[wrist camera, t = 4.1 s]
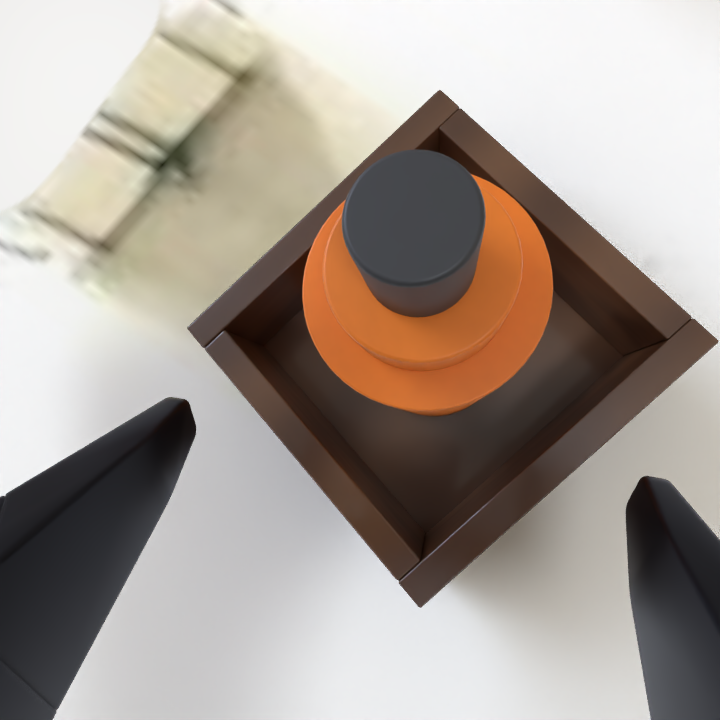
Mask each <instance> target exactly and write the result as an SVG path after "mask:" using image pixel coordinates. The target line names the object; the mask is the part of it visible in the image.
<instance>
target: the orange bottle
mask: <svg viewBox="0 0 720 720" xmlns="http://www.w3.org/2000/svg"><path fill="white" fill-rule="evenodd" d="M552 296H553V276H552V267H551V262H550V258H549V254H548V251H547V248H546V245H545V242H544V239H543V238H542V236H541V234H540V232H539V230H538V228H537V226H536V224H535V223H534V222H533V220H532V219H531V217H530V216H529V215H528V213H527V212H526V211H525V210H524V209H523V208H522V206H521V205H520V204H519V203H518V202H517V201H516V200H515V199H513V198H512V197H511V196H510V195H508V194H507V193H506V192H505V191H504V190H502V189H500V188H499V187H497V186H496V185H494V184H492V183H491V182H489V181H487V180H484V179H482V178H480V177H477V176H475V175H472V174H470V173H469V172H468V171H467V170H466V168H464V167H463V166H462V165H461V164H459V163H458V162H457V161H455V160H453V159H452V158H450V157H448V156H446V155H444V154H441V153H438V152H434V151H429V150H418V149H414V150H405V151H400V152H396V153H393V154H390V155H388V156H386V157H383V158H381V159H380V160H378V161H376V162H375V163H373V164H372V165H371V166H369V167H368V168H367V169H366V170H365V171H364V172H363V173H362V174H361V175H360V176H359V177H358V179H357V180H356V181H355V183H354V184H353V186H352V188H351V189H350V191H349V193H348V195H347V198H346V200H345V201H344V202H342V203H341V204H340V205H339V206H338V207H337V209H336V210H335V211H334V212H333V213H332V214H331V215H330V216H329V218H328V219H327V221H326V222H325V223H324V225H323V226H322V228H321V229H320V231H319V233H318V235H317V236H316V238H315V240H314V242H313V245H312V247H311V250H310V252H309V255H308V258H307V262H306V266H305V270H304V277H303V289H302V300H303V308H304V316H305V319H306V323H307V327H308V330H309V333H310V335H311V338H312V340H313V342H314V345H315V346H316V348H317V350H318V352H319V353H320V355H321V357H322V358H323V360H324V361H325V362H326V364H327V365H328V366H329V367H330V369H331V370H332V371H333V372H334V373H335V374H336V375H337V376H338V377H339V378H340V379H341V380H342V381H343V382H345V383H346V384H347V385H349V386H350V387H351V388H353V389H354V390H355V391H357V392H359V393H360V394H362V395H364V396H366V397H367V398H369V399H372V400H374V401H377V402H379V403H382V404H384V405H387V406H391V407H394V408H398V409H401V410H404V411H408V412H411V413H415V414H419V415H424V416H444V415H449V414H453V413H456V412H459V411H461V410H463V409H465V408H467V407H469V406H470V405H472V404H474V403H475V402H477V401H478V400H480V399H482V398H483V397H485V396H486V395H488V394H490V393H491V392H493V391H494V390H496V389H498V388H499V387H500V386H502V385H503V384H504V383H505V382H507V381H508V380H509V379H510V378H512V377H513V376H514V375H515V374H516V373H517V372H518V370H519V369H520V368H521V367H522V366H523V365H524V364H525V363H526V361H527V360H528V359H529V357H530V356H531V355H532V353H533V352H534V350H535V348H536V347H537V345H538V343H539V341H540V339H541V337H542V335H543V333H544V330H545V327H546V325H547V322H548V319H549V314H550V310H551V305H552Z"/></svg>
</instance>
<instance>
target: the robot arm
mask: <svg viewBox="0 0 720 720" xmlns="http://www.w3.org/2000/svg"><path fill="white" fill-rule="evenodd" d="M195 435H196V424H195V421H194V417H193V414H192V411H191V407H190V404H189V402H188V401H187V400H185V399H179V398H173V397H169V398H166V399H164V400H162V401H160V402H159V403H157V404H155V405H154V406H152V407H150V408H149V409H147V410H145V411H144V412H142V413H140V414H139V415H137V416H135V417H134V418H132V419H130V420H129V421H127V422H125V423H124V424H122V425H120V426H119V427H117V428H115V429H114V430H112V431H110V432H109V433H107V434H105V435H104V436H102V437H100V438H99V439H97V440H95V441H94V442H92V443H90V444H89V445H87V446H85V447H84V448H82V449H80V450H78V451H77V452H75V453H73V454H72V455H70V456H68V457H67V458H65V459H63V460H62V461H60V462H58V463H57V464H55V465H53V466H52V467H50V468H48V469H47V470H45V471H43V472H42V473H40V474H38V475H37V476H35V477H33V478H32V479H30V480H28V481H27V482H25V483H23V484H22V485H20V486H18V487H17V488H15V489H13V490H12V491H10V492H8V493H7V494H6V496H1V497H0V720H53V718H54V716H55V714H56V710H57V709H58V708H59V706H60V704H61V702H62V700H63V698H64V697H65V695H66V693H67V691H68V689H69V687H70V685H71V683H72V682H73V680H74V678H75V676H76V674H77V672H78V670H79V668H80V667H81V665H82V663H83V661H84V659H85V657H86V655H87V653H88V652H89V650H90V648H91V646H92V644H93V642H94V640H95V638H96V637H97V635H98V633H99V631H100V629H101V627H102V625H103V623H104V622H105V620H106V618H107V616H108V614H109V612H110V610H111V609H112V607H113V605H114V603H115V601H116V599H117V597H118V595H119V594H120V592H121V590H122V588H123V586H124V584H125V582H126V580H127V579H128V577H129V575H130V573H131V571H132V569H133V567H134V565H135V564H136V562H137V560H138V558H139V556H140V554H141V552H142V550H143V549H144V547H145V545H146V543H147V541H148V539H149V537H150V536H151V534H152V532H153V530H154V528H155V526H156V524H157V522H158V521H159V519H160V517H161V515H162V513H163V511H164V509H165V507H166V505H167V503H168V501H169V499H170V497H171V495H172V493H173V490H174V488H175V485H176V483H177V480H178V478H179V475H180V473H181V470H182V468H183V465H184V463H185V460H186V458H187V455H188V453H189V451H190V448H191V446H192V443H193V441H194V438H195ZM626 532H627V552H628V573H629V589H630V598H631V605H632V611H633V617H634V623H635V629H636V635H637V641H638V646H639V652H640V658H641V664H642V670H643V676H644V682H645V687H646V693H647V699H648V705H649V711H650V717H651V720H720V540H719V539H718V537H717V536H716V535H715V534H714V533H713V532H712V530H711V529H710V528H709V527H708V526H707V525H706V523H705V522H704V521H703V520H702V519H701V517H700V516H699V515H698V514H697V513H696V512H695V510H694V509H693V508H692V507H691V506H690V505H689V503H688V502H687V501H686V500H685V499H684V497H683V496H682V495H681V494H680V493H679V492H678V490H677V489H676V488H675V487H674V486H673V484H672V483H671V482H669V481H668V480H666V479H662V478H655V477H649V476H644V477H642V478H641V479H640V480H639V482H638V484H637V486H636V488H635V490H634V491H633V493H632V495H631V497H630V499H629V501H628V503H627V507H626Z"/></svg>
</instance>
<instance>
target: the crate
mask: <svg viewBox="0 0 720 720" xmlns="http://www.w3.org/2000/svg"><path fill="white" fill-rule="evenodd" d="M414 149H418V150H429V151H434V152H438V153H441V154H444V155H446V156H448V157H450V158H452V159H453V160H455V161H457V162H458V163H459V164H461V165H462V166H463V167H464V168H466V170H467V171H468V172H469V173H470V174H472V175H475V176H477V177H480V178H482V179H484V180H487V181H489V182H491V183H492V184H494V185H496V186H497V187H499V188H500V189H502V190H504V191H505V192H506V193H507V194H508V195H510V196H511V197H512V198H513V199H515V200H516V201H517V202H518V203H519V204H520V205H521V206H522V208H523V209H524V210H525V211H526V212H527V213H528V215H529V216H530V217H531V219H532V220H533V222H534V223H535V224H536V226H537V228H538V230H539V232H540V234H541V236H542V238H543V239H544V242H545V245H546V248H547V251H548V254H549V258H550V262H551V267H552V276H553V296H552V305H551V310H550V314H549V319H548V322H547V325H546V327H545V330H544V333H543V335H542V337H541V339H540V341H539V343H538V345H537V347H536V348H535V350H534V352H533V353H532V355H531V356H530V357H529V359H528V360H527V361H526V363H525V364H524V365H523V366H522V367H521V368H520V369H519V370H518V372H517V373H516V374H515V375H514V376H513V377H512V378H510V379H509V380H508V381H507V382H505V383H504V384H503V385H502V386H500V387H499V388H498V389H496V390H494V391H493V392H491V393H490V394H488V395H486V396H485V397H483V398H482V399H480V400H478V401H477V402H475V403H474V404H472V405H470V406H469V407H467V408H465V409H463V410H461V411H459V412H456V413H453V414H449V415H444V416H424V415H419V414H415V413H411V412H408V411H404V410H401V409H398V408H394V407H391V406H387V405H384V404H382V403H379V402H377V401H374V400H372V399H369V398H367V397H366V396H364V395H362V394H360V393H359V392H357V391H355V390H354V389H353V388H351V387H350V386H349V385H347V384H346V383H345V382H343V381H342V380H341V379H340V378H339V377H338V376H337V375H336V374H335V373H334V372H333V371H332V370H331V369H330V367H329V366H328V365H327V364H326V362H325V361H324V360H323V358H322V357H321V355H320V353H319V352H318V350H317V348H316V346H315V345H314V342H313V340H312V338H311V335H310V333H309V330H308V327H307V323H306V319H305V316H304V308H303V300H302V289H303V277H304V270H305V266H306V262H307V258H308V255H309V252H310V250H311V247H312V245H313V242H314V240H315V238H316V236H317V235H318V233H319V231H320V229H321V228H322V226H323V225H324V223H325V222H326V221H327V219H328V218H329V216H330V215H331V214H332V213H333V212H334V211H335V210H336V209H337V207H338V206H339V205H340V204H341V203H342V202H344V201H345V200H346V198H347V195H348V193H349V191H350V189H351V188H352V186H353V184H354V183H355V181H356V180H357V179H358V177H359V176H360V175H361V174H362V173H363V172H364V171H365V170H366V169H367V168H368V167H369V166H371V165H372V164H373V163H375V162H376V161H378V160H380V159H381V158H383V157H386V156H388V155H390V154H393V153H396V152H400V151H405V150H414ZM188 330H189V331H190V333H191V334H192V335H193V336H194V337H195V339H196V340H197V341H198V342H199V343H200V345H201V346H202V347H203V348H205V350H206V351H207V353H208V354H209V355H210V356H211V357H212V359H213V360H214V361H215V362H216V363H217V365H218V366H219V367H220V368H221V369H222V371H223V372H224V373H225V374H226V376H227V377H228V378H229V379H230V380H231V382H232V383H233V384H234V385H235V386H236V388H237V389H238V390H239V391H240V392H241V394H242V395H243V396H244V397H245V398H246V400H247V401H248V402H249V403H250V404H251V406H252V407H253V408H254V409H255V410H256V412H257V413H258V414H259V415H260V416H261V418H262V419H263V420H264V421H265V422H266V424H267V425H268V426H269V427H270V428H271V430H272V431H273V432H274V433H275V434H276V436H277V437H278V438H279V439H280V440H281V442H282V443H283V444H284V445H285V446H286V448H287V449H288V450H289V451H290V452H291V454H292V455H293V456H294V457H295V458H296V460H297V461H298V462H299V463H300V464H301V466H302V467H303V468H304V469H305V470H306V472H307V473H308V474H309V475H310V476H311V478H312V479H313V480H314V481H315V482H316V484H317V485H318V486H319V487H320V488H321V490H322V491H323V492H324V493H325V495H326V496H327V497H328V498H329V499H330V501H331V502H332V503H333V504H334V505H335V507H336V508H337V509H338V510H339V511H340V513H341V514H342V515H343V516H344V517H345V519H346V520H347V521H348V522H349V523H350V525H351V526H352V527H353V528H354V529H355V531H356V532H357V533H358V534H359V535H360V537H361V538H362V539H363V540H364V541H365V543H366V544H367V545H368V546H369V547H370V549H371V550H372V551H373V552H374V553H375V555H376V556H377V557H378V558H379V559H380V561H381V562H382V563H383V564H384V565H385V567H386V568H387V569H388V570H389V571H390V573H391V574H392V575H393V576H394V577H395V579H397V580H399V584H400V585H401V586H402V588H403V589H404V590H405V591H406V592H407V594H408V595H409V596H410V597H411V598H412V600H413V601H414V602H415V603H416V604H417V606H418V607H420V608H421V607H422V606H423V605H424V604H426V603H427V602H428V601H429V600H430V599H431V598H432V597H433V596H435V595H436V594H437V593H438V592H439V591H440V590H441V589H442V588H444V587H445V586H446V585H447V584H448V583H449V582H450V581H451V580H452V579H454V578H455V577H456V576H457V575H458V574H459V573H460V572H461V571H463V570H464V569H465V568H466V567H467V566H468V565H469V564H470V563H472V562H473V561H474V560H475V559H476V558H477V557H478V556H479V555H481V554H482V553H483V552H484V551H485V550H486V549H487V548H488V547H489V546H491V545H492V544H493V543H494V542H495V541H496V540H497V539H498V538H500V537H501V536H502V535H503V534H504V533H505V532H506V531H507V530H509V529H510V528H511V527H512V526H513V525H514V524H515V523H516V522H518V521H519V520H520V519H521V518H522V517H523V516H524V515H525V514H526V513H528V512H529V511H530V510H531V509H532V508H533V507H534V506H535V505H537V504H538V503H539V502H540V501H541V500H542V499H543V498H544V497H546V496H547V495H548V494H549V493H550V492H551V491H552V490H553V489H554V488H556V487H557V486H558V485H559V484H560V483H561V482H562V481H563V480H565V479H566V478H567V477H568V476H569V475H570V474H571V473H572V472H574V471H575V470H576V469H577V468H578V467H579V466H580V465H581V464H583V463H584V462H585V461H586V460H587V459H588V458H589V457H590V456H591V455H593V454H594V453H595V452H596V451H597V450H598V449H599V448H600V447H602V446H603V445H604V444H605V443H606V442H607V441H608V440H609V439H611V438H612V437H613V436H614V435H615V434H616V433H617V432H618V431H620V430H621V429H622V428H623V427H624V426H625V425H626V424H627V423H628V422H630V421H631V420H632V419H633V418H634V417H635V416H636V415H637V414H639V413H640V412H641V411H642V410H643V409H644V408H645V407H646V406H648V405H649V404H650V403H651V402H652V401H653V400H654V399H655V398H656V397H658V396H659V395H660V394H661V393H662V392H663V391H664V390H665V389H667V388H668V387H669V386H670V385H671V384H672V383H673V382H674V381H676V380H677V379H678V378H679V377H680V376H681V375H682V374H683V373H685V372H686V371H687V370H688V369H689V368H690V367H691V366H692V365H693V364H695V363H696V362H697V361H698V360H699V359H700V358H701V357H702V356H704V355H705V354H706V353H707V352H708V351H709V350H710V349H711V348H713V347H714V346H715V345H716V344H717V343H718V340H717V339H716V338H715V337H714V336H713V335H712V334H710V333H709V332H708V331H707V330H706V329H705V328H704V327H703V326H702V325H700V324H699V323H698V322H697V321H696V320H695V319H693V318H692V319H691V316H690V315H689V314H688V313H687V312H686V311H685V310H683V309H682V308H681V307H680V306H679V305H678V304H677V303H676V302H675V301H674V300H672V299H671V298H670V297H669V296H668V295H667V294H666V293H665V292H664V291H662V290H661V289H660V288H659V287H658V286H657V285H656V284H655V283H654V282H652V281H651V280H650V279H649V278H648V277H647V276H646V275H645V274H644V273H642V272H641V271H640V270H639V269H638V268H637V267H636V266H635V265H634V264H633V263H631V262H630V261H629V260H628V259H627V258H626V257H625V256H624V255H623V254H621V253H620V252H619V251H618V250H617V249H616V248H615V247H614V246H613V245H611V244H610V243H609V242H608V241H607V240H606V239H605V238H604V237H603V236H601V235H600V234H599V233H598V232H597V231H596V230H595V229H594V228H593V227H592V226H590V225H589V224H588V223H587V222H586V221H585V220H584V219H583V218H582V217H580V216H579V215H578V214H577V213H576V212H575V211H574V210H573V209H572V208H570V207H569V206H568V205H567V204H566V203H565V202H564V201H563V200H562V199H560V198H559V197H558V196H557V195H556V194H555V193H554V192H553V191H552V190H551V189H549V188H548V187H547V186H546V185H545V184H544V183H543V182H542V181H541V180H539V179H538V178H537V177H536V176H535V175H534V174H533V173H532V172H531V171H529V170H528V169H527V168H526V167H525V166H524V165H523V164H522V163H521V162H519V161H518V160H517V159H516V158H515V157H514V156H513V155H512V154H511V153H510V152H508V151H507V150H506V149H505V148H504V147H503V146H502V145H501V144H500V143H498V142H497V141H496V140H495V139H494V138H493V137H492V136H491V135H490V134H488V133H487V132H486V131H485V130H484V129H483V128H482V127H481V126H480V125H478V124H477V123H476V122H475V121H474V120H473V119H472V118H471V117H470V116H469V115H467V114H466V113H465V112H464V111H463V110H462V109H459V106H458V105H456V104H455V103H454V102H453V101H452V100H451V99H450V98H449V97H448V96H446V95H445V94H444V93H443V92H442V91H441V90H439V91H437V92H436V93H435V94H434V95H433V96H432V97H431V98H430V99H429V100H428V101H427V102H426V103H425V104H424V105H423V106H422V107H421V108H419V109H418V110H417V111H416V112H415V113H414V114H413V115H412V116H411V117H410V118H409V119H408V120H407V121H406V122H405V123H404V124H402V125H401V126H400V127H399V128H398V129H397V130H396V131H395V132H394V133H393V134H392V135H391V136H390V137H389V138H388V139H387V140H386V141H384V142H383V143H382V144H381V145H380V146H379V147H378V148H377V149H376V150H375V151H374V152H373V153H372V154H371V155H370V156H369V157H368V158H366V159H365V160H364V161H363V162H362V163H361V164H360V165H359V166H358V167H357V168H356V169H355V170H354V171H353V172H352V173H351V174H349V175H348V176H347V177H346V178H345V179H344V180H343V181H342V182H341V183H340V184H339V185H338V186H337V187H336V188H335V189H334V190H333V191H331V192H330V193H329V194H328V195H327V196H326V197H325V198H324V199H323V200H322V201H321V202H320V203H319V204H318V205H317V206H316V207H314V208H313V209H312V210H311V211H310V212H309V213H308V214H307V215H306V216H305V217H304V218H303V219H302V220H301V221H300V222H299V223H298V224H296V225H295V226H294V227H293V228H292V229H291V230H290V231H289V232H288V233H287V234H286V235H285V236H284V237H283V238H282V239H281V240H279V241H278V242H277V243H276V244H275V245H274V246H273V247H272V248H271V249H270V250H269V251H268V252H267V253H266V254H265V255H264V256H263V257H261V258H260V259H259V260H258V261H257V262H256V263H255V264H254V265H253V266H252V267H251V268H250V269H249V270H248V271H247V272H246V273H244V274H243V275H242V276H241V277H240V278H239V279H238V280H237V281H236V282H235V283H234V284H233V285H232V286H231V287H230V288H229V289H228V290H226V291H225V292H224V293H223V294H222V295H221V296H220V297H219V298H218V299H217V300H216V301H215V302H214V303H213V304H212V305H211V306H209V307H208V308H207V309H206V310H205V311H204V312H203V313H202V314H201V315H200V316H199V317H198V318H197V319H196V320H195V321H194V322H193V323H191V324H190V325H189V326H188Z"/></svg>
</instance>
